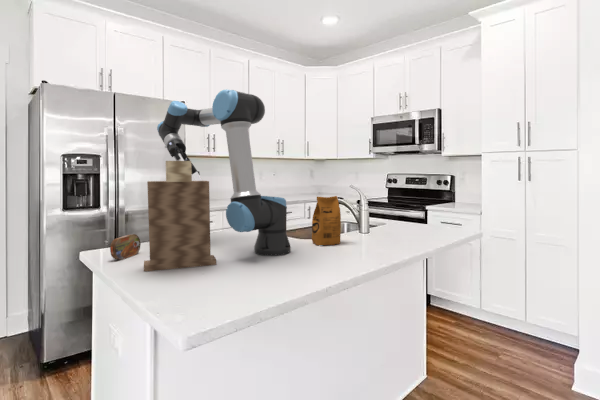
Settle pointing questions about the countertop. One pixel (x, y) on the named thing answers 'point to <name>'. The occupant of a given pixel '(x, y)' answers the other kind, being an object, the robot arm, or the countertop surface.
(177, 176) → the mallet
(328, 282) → the countertop surface
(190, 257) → the stand
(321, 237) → the coffee package
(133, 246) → the tin
